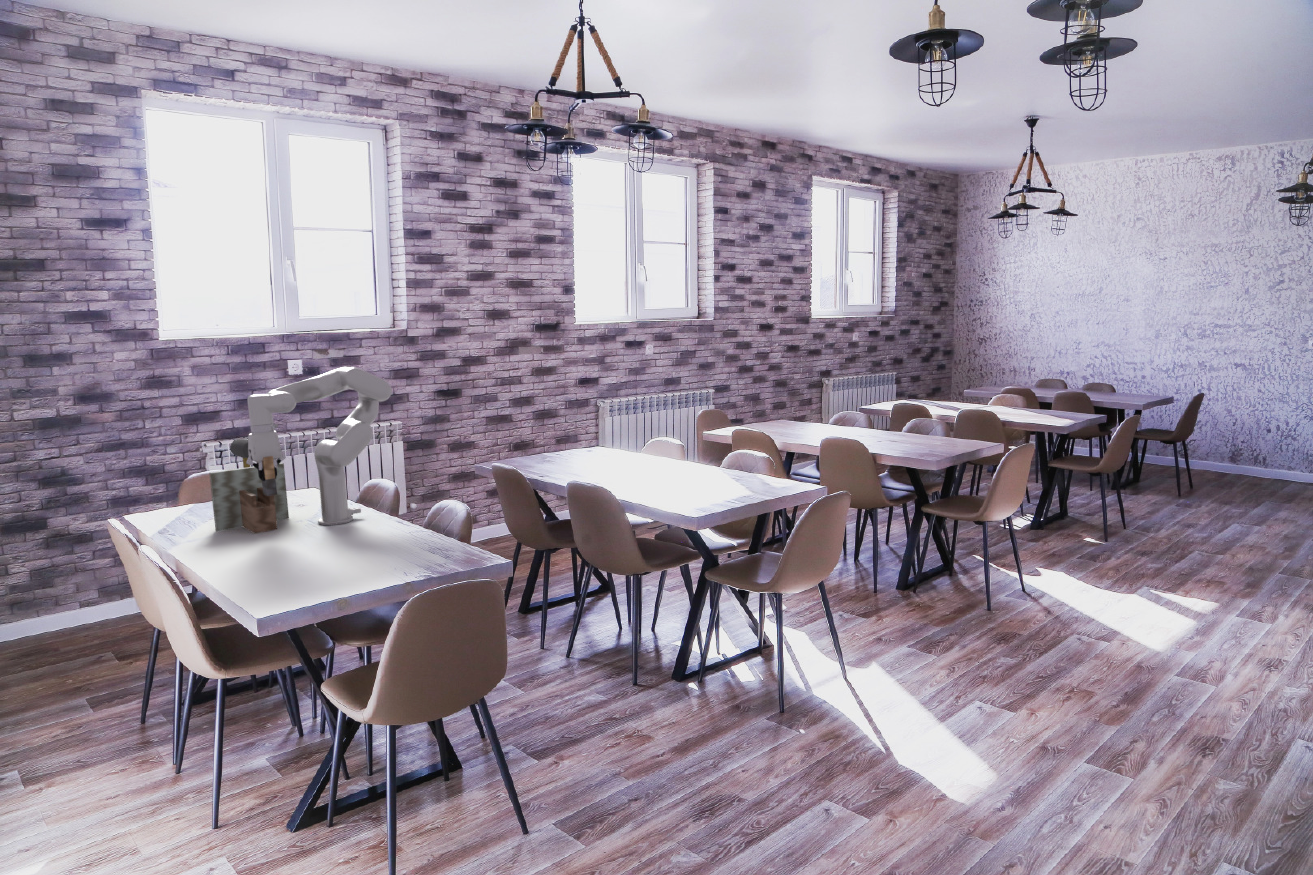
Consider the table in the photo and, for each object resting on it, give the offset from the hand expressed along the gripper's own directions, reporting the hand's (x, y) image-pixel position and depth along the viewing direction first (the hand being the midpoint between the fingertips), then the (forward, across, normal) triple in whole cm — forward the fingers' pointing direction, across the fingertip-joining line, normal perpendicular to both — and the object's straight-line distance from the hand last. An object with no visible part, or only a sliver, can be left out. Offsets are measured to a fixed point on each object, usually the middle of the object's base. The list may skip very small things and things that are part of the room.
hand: (268, 478), depth 305 cm
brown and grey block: (+6, 0, 0) cm, 6 cm away
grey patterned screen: (+21, +1, -14) cm, 25 cm away
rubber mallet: (+21, -5, -44) cm, 49 cm away
